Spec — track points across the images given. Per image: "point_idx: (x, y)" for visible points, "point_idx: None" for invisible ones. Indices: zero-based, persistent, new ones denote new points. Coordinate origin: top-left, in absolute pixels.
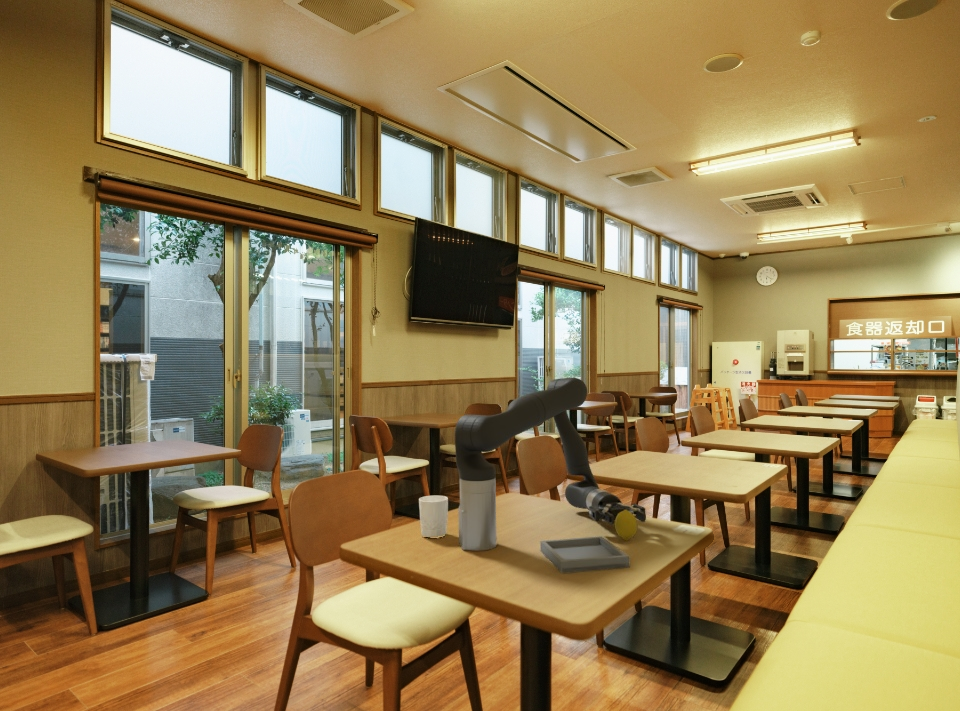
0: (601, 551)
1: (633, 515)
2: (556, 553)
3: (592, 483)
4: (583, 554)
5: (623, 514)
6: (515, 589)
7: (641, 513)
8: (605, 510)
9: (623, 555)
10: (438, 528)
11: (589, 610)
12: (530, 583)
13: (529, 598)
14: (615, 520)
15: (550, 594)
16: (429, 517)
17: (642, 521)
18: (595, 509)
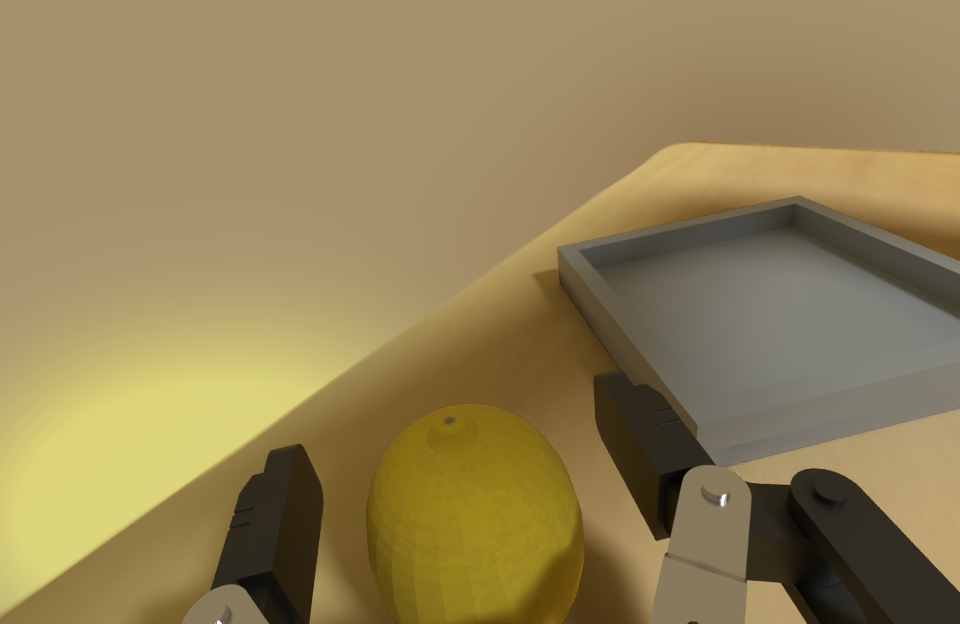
0: (675, 335)
1: (390, 445)
2: (863, 230)
3: None
4: (757, 303)
5: (493, 408)
6: (877, 171)
7: (296, 458)
8: (706, 533)
9: (578, 248)
10: None
11: (666, 159)
12: (857, 190)
13: (811, 160)
14: (575, 508)
15: (770, 173)
16: None
17: (322, 494)
18: (899, 593)
